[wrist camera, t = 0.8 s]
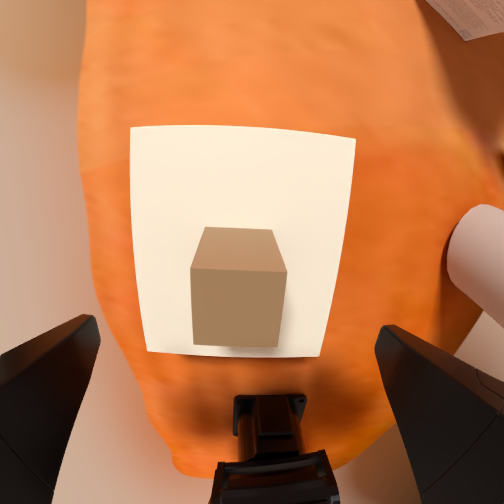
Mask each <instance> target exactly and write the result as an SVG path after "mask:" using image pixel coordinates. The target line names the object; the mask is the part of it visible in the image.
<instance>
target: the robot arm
mask: <svg viewBox="0 0 504 504" xmlns="http://www.w3.org/2000/svg"><path fill="white" fill-rule="evenodd" d="M100 341H101V340H100V334H99V330H98V326H97V322H96V318H95V317H94V316H93V315H86V314H82V315H80V316H78V317H75V318H74V319H71V320H69V321H68V322H65V323H63V324H61V325H59V326H57V327H55V328H53V329H51V330H49V331H47V332H45V333H43V334H41V335H39V336H37V337H35V338H33V339H31V340H29V341H27V342H25V343H23V344H21V345H19V346H17V347H15V348H13V349H11V350H9V351H7V352H5V353H4V354H1V356H0V504H51V503H52V499H53V495H54V490H55V486H56V482H57V478H58V474H59V470H60V467H61V464H62V460H63V457H64V454H65V450H66V447H67V444H68V441H69V438H70V434H71V431H72V428H73V426H74V422H75V420H76V417H77V414H78V411H79V408H80V406H81V403H82V400H83V397H84V395H85V392H86V389H87V387H88V384H89V381H90V378H91V374H92V371H93V367H94V363H95V360H96V356H97V353H98V350H99V346H100ZM375 355H376V359H377V362H378V366H379V370H380V374H381V377H382V381H383V385H384V388H385V391H386V394H387V397H388V400H389V403H390V405H391V408H392V411H393V413H394V416H395V419H396V422H397V425H398V427H399V431H400V433H401V436H402V439H403V442H404V445H405V448H406V451H407V454H408V458H409V461H410V464H411V467H412V470H413V474H414V477H415V481H416V484H417V487H418V491H419V494H420V499H421V503H422V504H504V382H502V381H500V380H498V379H495V378H494V377H492V376H490V375H488V374H486V373H484V372H482V371H480V370H478V369H475V368H474V367H472V366H471V365H469V364H467V363H465V362H463V361H461V360H460V359H458V358H456V357H454V356H452V355H450V354H449V353H447V352H445V351H443V350H441V349H439V348H437V347H435V346H433V345H432V344H430V343H428V342H426V341H424V340H422V339H420V338H418V337H417V336H415V335H413V334H411V333H409V332H407V331H405V330H403V329H402V328H400V327H398V326H396V325H384V326H382V327H381V329H380V332H379V335H378V338H377V341H376V344H375ZM239 400H240V401H239ZM306 402H307V398H306V395H304V394H297V395H238V396H235V397H234V411H233V435H234V436H237V437H238V462H228V463H225V462H218V465H217V469H216V470H215V475H214V482H213V488H212V494H211V498H210V500H209V503H208V504H340V497H339V491H338V487H337V483H336V480H335V477H334V474H333V471H332V469H331V466H330V463H329V460H328V457H327V454H326V452H325V449H323V450H318V452H313V453H307V454H306V452H305V447H304V442H303V437H302V432H301V427H300V421H301V418H302V415H303V412H304V408H305V405H306Z"/></svg>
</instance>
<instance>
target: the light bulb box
mask: <svg viewBox="0 0 504 504" xmlns="http://www.w3.org/2000/svg"><path fill="white" fill-rule="evenodd" d="M425 1H426V2H427V3H428V4H429V5H431V6H432V7H433V8H434V9H435V10H436V11H437V12H438V13H439V14H440V15H441V16H442V17H443V18H444V19H445V20H446V21H447V22H448V23H449V24H450V25H451V26H452V27H453V29H454V30H455V31H456V32H457V33H458V34H459V35H460V36H461V37H462V39H463V40H464V41H469V40H472V39H476V38H480V37H484V36H488V35H492V34H497V33H501V32H504V0H425Z"/></svg>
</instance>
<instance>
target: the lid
mask: <svg viewBox="0 0 504 504" xmlns="http://www.w3.org/2000/svg"><path fill="white" fill-rule="evenodd" d="M355 144H356V139H352V138H346V137H340V136H334V135H327V134H319V133H311V132H303V131H294V130H284V129H273V128H259V127H243V126H216V125H172V126H146V127H131V136H130V196H131V220H132V236H133V249H134V260H135V270H136V279H137V288H138V295H139V303H140V310H141V317H142V323H143V329H144V335H145V341H146V347H147V351H153V352H163V353H174V354H187V355H202V356H221V357H316V356H319V354H320V350H321V346H322V342H323V338H324V334H325V330H326V325H327V321H328V317H329V312H330V307H331V303H332V298H333V293H334V288H335V283H336V278H337V273H338V268H339V262H340V257H341V251H342V245H343V239H344V233H345V226H346V220H347V213H348V206H349V198H350V191H351V182H352V174H353V165H354V155H355Z"/></svg>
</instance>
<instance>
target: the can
mask: <svg viewBox="0 0 504 504" xmlns="http://www.w3.org/2000/svg"><path fill="white" fill-rule="evenodd" d="M447 271H448V274H449V277H450V280H451V281H452V282H453V284H454V285H455V286H456V287H457V288H459V289H460V290H461V291H462V292H463V293H464V294H466V295H467V296H468V297H469V298H470V299H472V300H473V301H474V302H475V303H476V304H477V305H478V306H480V307H481V308H482V309H483V310H484V311H485V312H486V313H487V314H489V315H490V316H491V317H492V318H493V319H494V320H495V321H496V322H497V323H498V324H500V325H501V326H502V327H503V328H504V211H503V210H501V209H498V208H496V207H493V206H491V205H485V204H480V205H478V206H476V207H473V208H472V209H471V210H469V211H468V212H467V213H466V214H465V215H464V216H463V217H462V219H461V220H460V221H459V223H458V224H457V226H456V227H455V229H454V231H453V234H452V236H451V239H450V242H449V248H448V254H447Z"/></svg>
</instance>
